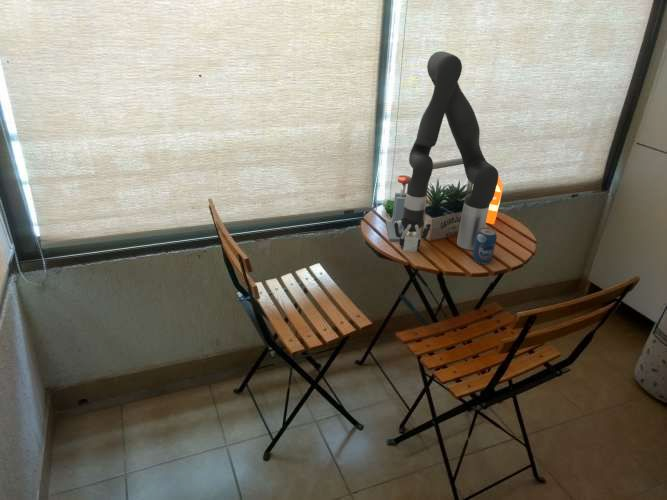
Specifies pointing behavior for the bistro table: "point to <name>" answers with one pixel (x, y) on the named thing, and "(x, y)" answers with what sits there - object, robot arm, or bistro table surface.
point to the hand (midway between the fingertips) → (409, 246)
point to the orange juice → (495, 203)
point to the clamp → (389, 207)
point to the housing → (410, 242)
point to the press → (396, 217)
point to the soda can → (484, 245)
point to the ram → (403, 184)
